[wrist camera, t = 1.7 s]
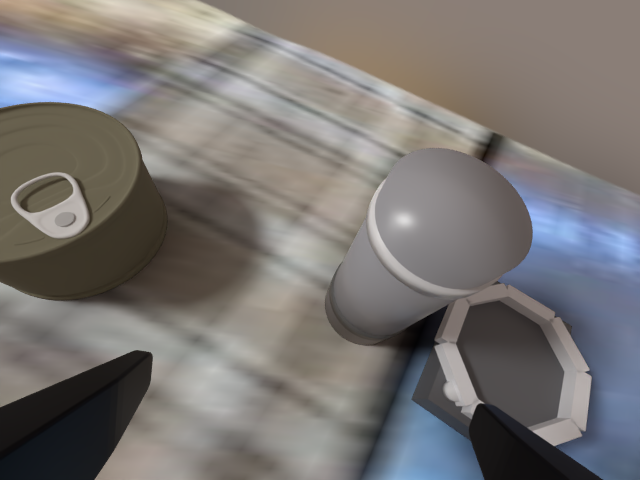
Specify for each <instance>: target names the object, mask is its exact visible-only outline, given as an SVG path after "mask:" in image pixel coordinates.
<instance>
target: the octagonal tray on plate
mask: <svg viewBox="0 0 640 480" xmlns="http://www.w3.org/2000/svg"><path fill="white" fill-rule="evenodd" d="M554 315H555V312H554V311H552V310H551V309H549V308H547V307H546V306H544V305H542V304H541V303H539V302H537V301H536V300H534V299H532V298H531V297H529V296H527V295H526V294H524V293H522V292H521V291H519V290H517V289H516V288H514V287H512V286H511V285H507V286H505V284H504V283H503V284H501V283H499V282H498V281H496V282H495V283H494V284H492V285H491V286H489V287H487V288H485V289H484V290H482V291H480V292H478V293H476V294H474V295H471V296H469V297H465V298H461V299H457V300H455V301H454V302H452V303H450V304H449V305H448V308H447V310H446V312H445V315H444V317H443V320H442V322H441V325H440V327H439V329H438V332H437V334H436V337H435V339H434V340H435V343H434V345H433V348H432V350H431V353H430V355H429V357H428V360H427V362H426V365H425V367H424V370H423V372H422V375H421V377H420V380H419V382H418V384H417V387H416V389H415V392H414V394H413V397H412V399H411V400H413V401H414V402H416V403H417V404H419V405H420V406H421V407H423V408H424V409H426V410H427V411H429V412H430V413H432V414H433V415H434V416H436V417H437V418H439V419H440V420H442V421H443V422H444V423H446V424H447V425H449V426H450V427H452V428H453V429H454V430H456V431H457V432H459V433H460V434H462V435H463V436H464V437H466V438H467V439H469V440H470V437H469V425H470V422H471V419H472V416H473V414H474V411H475V408H476V406H477V405H478V404H479V403H484V404H491V405H494V406H496V407H498V408H499V409H501V410H502V411H503V412H505V413H506V414H508V415H509V416H511V417H512V418H514V419H515V420H517V421H518V422H519V423H521V424H522V425H524V426H525V427H527V428H528V429H530V430H531V431H533V432H534V433H536V434H537V435H538V436H540V437H541V438H543V439H544V440H546V441H547V442H549V443H550V444H552V445H553V446H556V445H559V444H561V443H564V442H567V441H570V440H573V439H576V438H578V437H581V436H582V434H581V432H580V431H586V423H587V414H588V405H589V396H590V387H591V378H592V377H591V376H590V375H588V374H587V373H585V372H586V371H589V370H590V369H589V367H588V366H587V364H586V362H585V360H584V359H583V357H582V355H581V353H580V352H579V350H578V348H577V346H576V345H575V343H574V341H573V339H572V338H571V336H570V335H571V329H572V326H571V325H569V324H567V323H566V322H564V321H562V320H561V318H560V317H556V316H554ZM470 441H471V440H470Z"/></svg>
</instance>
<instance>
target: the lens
mask: <svg viewBox="0 0 640 480" xmlns="http://www.w3.org/2000/svg"><path fill="white" fill-rule="evenodd" d="M532 233H533V230H532V223H531V219H530V215H529V212H528V210H527V208H526V205H525V204H524V202H523V200H522V198H521V197H520V195H519V194H518V192H517V191H516V190H515V188H514V187H513V186H512V185H511V184H510V183H509V182H508V181H507V180H506V179H505V178H504V177H503V176H502V175H501V174H500V173H498V172H497V171H496V170H495V169H493V168H492V167H490V166H489V165H487V164H486V163H484V162H482V161H481V160H479V159H477V158H475V157H473V156H470V155H467V154H465V153H462V152H458V151H455V150H450V149H443V148H427V149H421V150H417V151H414V152H411V153H409V154H407V155H405V156H404V157H402V158H401V159H400V160H399V161H398V162H397V163H396V164H395V165H394V166H393V168H392V170H391V171H390V173H389V175H388V177H387V178H386V179H385V180H384V181H383V182H382V183H381V185H380V186H379V187H378V189H377V191H376V192H375V194H374V196H373V198H372V200H371V202H370V205H369V207H368V210H367V215H366V218H365V220H364V222H363V224H362V226H361V228H360V230H359V232H358V234H357V235H356V237H355V239H354V241H353V243H352V245H351V247H350V249H349V251H348V252H347V254H346V256H345V258H344V260H343V262H342V263H341V264H340V265H339V267H338V269H337V270H336V272H335V274H334V276H333V278H332V281H331V284H330V287H329V288H328V291H327V293H326V298H325V310H326V314H327V317H328V320H329V322H330V324H331V325H332V327H333V328H334V330H335V331H336V332H337V333H338V334H339V335H340V336H342V337H343V338H344V339H346V340H348V341H350V342H352V343H355V344H359V345H372V344H376V343H379V342H381V341H383V340H385V339H389V338H391V337H393V336H395V335H397V334H399V333H401V332H402V331H404V330H405V329H407V328H408V327H409V326H410V325H412V324H414V323H416V322H417V321H419V320H421V319H423V318H425V317H426V316H428V315H430V314H432V313H434V312H436V311H437V310H439V309H441V308H443V307H445V306H446V305H448V304H450V303H452V302H454V301H455V300H457V299H461V298H465V297H469V296H471V295H474V294H476V293H478V292H480V291H482V290H484V289H485V288H487V287H489V286H491V285H492V284H494V283H495V282H496V281H497V280H498V279H499V278H500V277H501V276H502V275H503V274H504V273H506V272H508V271H510V270H512V269H513V268H515V267H516V266H518V265H519V264H520V263H521V262H522V261H523V260H524V259H525V257H526V255H527V254H528V252H529V249H530V247H531V243H532Z"/></svg>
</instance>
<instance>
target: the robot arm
mask: <svg viewBox="0 0 640 480" xmlns="http://www.w3.org/2000/svg"><path fill="white" fill-rule="evenodd" d="M152 361H153V356H152V354H151V352H146V351H139V350H135V351H132V352H130V353H127V354H125V355H123V356H120V357H118V358H116V359H113V360H111V361H109V362H106V363H104V364H102V365H99V366H97V367H94V368H92V369H90V370H87V371H85V372H83V373H80V374H78V375H76V376H73V377H71V378H69V379H66V380H64V381H61V382H59V383H57V384H54V385H52V386H50V387H47V388H45V389H43V390H40V391H38V392H36V393H33V394H31V395H28V396H26V397H24V398H21V399H19V400H17V401H14V402H12V403H10V404H7V405H5V406H2V407H0V480H95V478H96V477H97V475H98V474H99V472H100V471H101V469H102V468H103V466H104V465H105V463H106V462H107V460H108V459H109V457H110V456H111V454H112V453H113V451H114V449H115V448H116V446H117V444H118V442H119V441H120V439H121V437H122V435H123V434H124V432H125V430H126V428H127V426H128V424H129V423H130V421H131V419H132V417H133V415H134V413H135V412H136V410H137V408H138V406H139V404H140V403H141V401H142V399H143V397H144V395H145V393H146V392H147V390H148V387H149V385H150V381H151V372H152ZM469 437H470V440H471V443H472V445H473V448H474V451H475V454H476V457H477V460H478V462H479V465H480V468H481V471H482V474H483V477H484V479H485V480H603V479H601V478H600V477H598V476H597V475H595V474H594V473H593V472H591V471H590V470H588V469H587V468H585V467H584V466H582V465H581V464H579V463H578V462H576V461H575V460H574V459H572V458H571V457H569V456H568V455H566V454H565V453H563V452H562V451H560V450H559V449H557V448H556V447H555V446H553V445H552V444H550V443H549V442H547V441H546V440H544V439H543V438H541V437H540V436H538V435H537V434H536V433H534V432H533V431H531V430H530V429H528V428H527V427H525V426H524V425H522V424H521V423H519V422H518V421H517V420H515V419H514V418H512V417H511V416H509V415H508V414H506V413H505V412H503V411H502V410H501V409H499V408H498V407H496V406H494V405H491V404H484V403H479V404H478V405H477V406H476V408H475V411H474V414H473V416H472V419H471V422H470V425H469Z"/></svg>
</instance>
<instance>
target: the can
mask: <svg viewBox="0 0 640 480" xmlns="http://www.w3.org/2000/svg"><path fill="white" fill-rule="evenodd" d="M166 229H167V212H166V208H165V205H164V202H163V200H162V198H161V196H160V195H159V193H158V191H157V189H156V186H155V184H154V182H153V180H152V178H151V176H150V174H149V172H148V170H147V168H146V166H145V164H144V162H143V160H142V155H141V151H140V148H139V146H138V144H137V142H136V140H135V138H134V137H133V135H132V134H131V133H130V131H129V130H128V129H127V128H126V127H125V126H124V125H123V124H122V123H120V122H119V121H118V120H116V119H115V118H113V117H111V116H110V115H108V114H105V113H103V112H101V111H98V110H96V109H93V108H89V107H86V106H81V105H76V104H70V103H59V102H38V103H27V104H19V105H13V106H8V107H3V108H0V282H1V283H4V284H6V285H9V286H11V287H13V288H15V289H17V290H19V291H21V292H23V293H25V294H28V295H30V296H34V297H37V298H42V299H48V300H74V299H81V298H86V297H90V296H94V295H97V294H100V293H103V292H106V291H108V290H110V289H113V288H115V287H117V286H119V285H121V284H122V283H124V282H126V281H127V280H129V279H130V278H132V277H133V276H134V275H136V274H137V273H138V272H139V271H141V270H142V269H143V268H144V267H145V266H146V265H147V264H148V263H149V262H150V260H151V259H152V258H153V257H154V255H155V254H156V253H157V251H158V249H159V248H160V246H161V244H162V242H163V239H164V237H165V233H166Z"/></svg>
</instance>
